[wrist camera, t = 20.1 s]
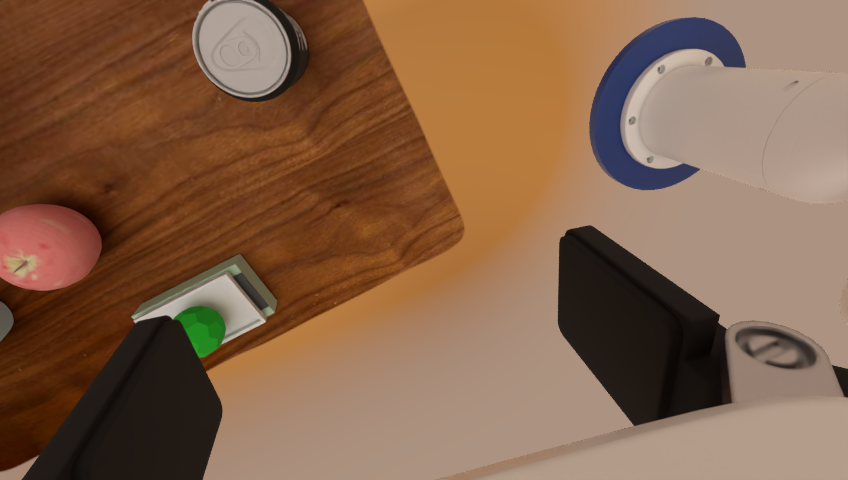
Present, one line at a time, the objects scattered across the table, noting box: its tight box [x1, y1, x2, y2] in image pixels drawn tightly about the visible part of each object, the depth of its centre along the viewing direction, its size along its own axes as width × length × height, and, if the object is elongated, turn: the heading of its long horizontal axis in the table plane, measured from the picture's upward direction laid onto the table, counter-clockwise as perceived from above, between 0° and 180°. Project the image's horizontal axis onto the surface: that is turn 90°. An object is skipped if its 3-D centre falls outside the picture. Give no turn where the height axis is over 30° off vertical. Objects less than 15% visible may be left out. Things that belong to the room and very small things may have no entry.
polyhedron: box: [173, 306, 226, 358], centre depth 40 cm, size 5×5×5 cm
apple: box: [0, 204, 102, 290], centre depth 36 cm, size 7×7×8 cm
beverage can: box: [192, 0, 309, 102], centre depth 31 cm, size 7×7×12 cm
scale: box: [132, 254, 277, 344], centre depth 43 cm, size 12×7×4 cm, turn 115°
